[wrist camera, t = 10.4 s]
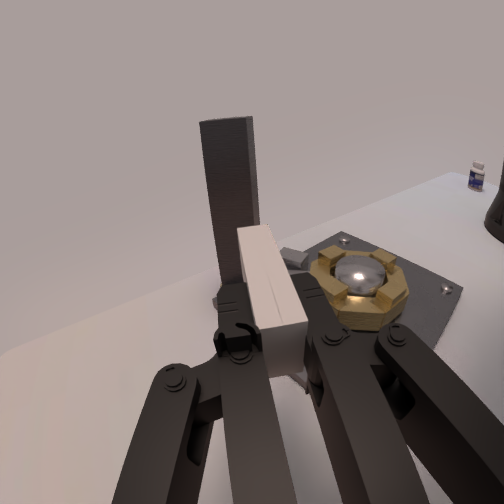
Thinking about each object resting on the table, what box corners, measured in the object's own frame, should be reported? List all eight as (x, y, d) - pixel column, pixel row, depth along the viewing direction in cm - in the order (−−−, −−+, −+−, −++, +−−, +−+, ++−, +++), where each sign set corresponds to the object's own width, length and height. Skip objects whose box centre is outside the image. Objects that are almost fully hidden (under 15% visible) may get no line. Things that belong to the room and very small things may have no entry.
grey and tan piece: (393, 269, 29) (413, 122, 20) (408, 331, 21) (457, 137, 12) (238, 258, 34) (224, 116, 25) (209, 313, 26) (175, 127, 17)
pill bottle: (466, 185, 64) (469, 158, 59) (478, 188, 62) (482, 162, 57) (470, 189, 60) (474, 162, 55) (483, 193, 58) (488, 166, 53)
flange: (331, 233, 41) (333, 206, 38) (460, 294, 25) (472, 263, 23) (205, 298, 30) (198, 264, 27) (367, 437, 14) (387, 412, 12)
